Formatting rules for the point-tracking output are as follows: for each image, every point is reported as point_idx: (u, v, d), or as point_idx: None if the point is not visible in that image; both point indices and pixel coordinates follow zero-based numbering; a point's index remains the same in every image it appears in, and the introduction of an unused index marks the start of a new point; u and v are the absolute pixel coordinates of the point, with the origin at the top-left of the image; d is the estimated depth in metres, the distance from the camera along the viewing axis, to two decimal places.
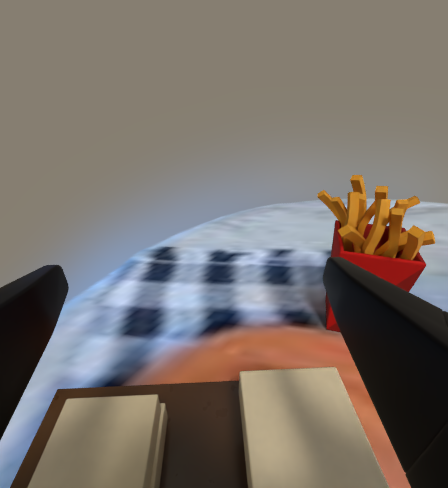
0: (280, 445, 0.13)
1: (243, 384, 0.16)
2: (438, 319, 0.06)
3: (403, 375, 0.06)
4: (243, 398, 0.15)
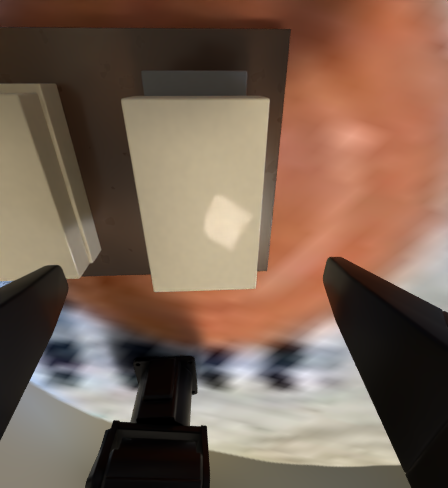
0: (170, 195, 0.13)
1: (127, 122, 0.11)
2: (438, 319, 0.06)
3: (403, 375, 0.06)
4: (129, 142, 0.12)
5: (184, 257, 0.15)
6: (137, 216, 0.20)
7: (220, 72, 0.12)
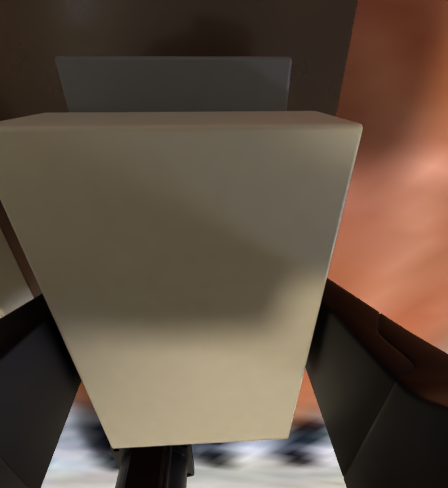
0: (126, 321, 0.06)
1: (0, 185, 0.04)
2: (371, 322, 0.06)
3: (339, 378, 0.06)
4: (14, 228, 0.05)
5: (162, 407, 0.08)
6: None
7: (233, 60, 0.06)
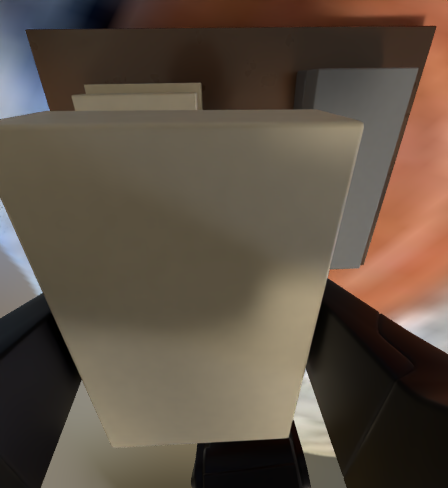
0: (126, 320, 0.06)
1: (0, 183, 0.04)
2: (371, 322, 0.06)
3: (339, 378, 0.06)
4: (14, 226, 0.05)
5: (162, 407, 0.08)
6: None
7: (393, 69, 0.13)
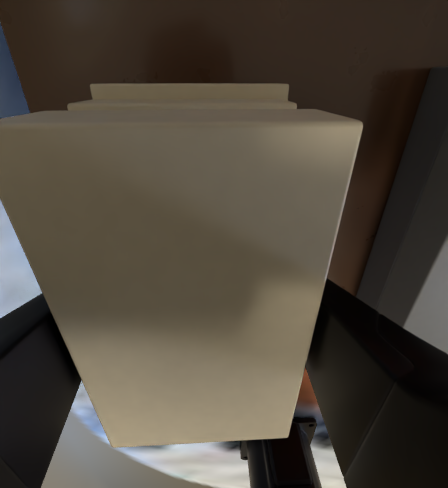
0: (126, 320, 0.06)
1: None
2: (371, 322, 0.06)
3: (339, 378, 0.06)
4: (14, 226, 0.05)
5: (162, 406, 0.08)
6: None
7: None
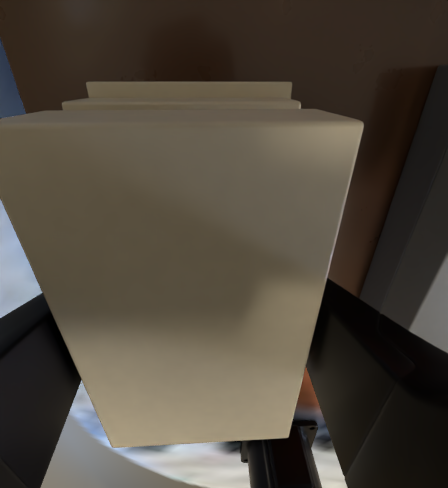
0: (126, 320, 0.06)
1: None
2: (372, 322, 0.06)
3: (340, 378, 0.06)
4: (14, 226, 0.05)
5: (162, 406, 0.08)
6: None
7: None
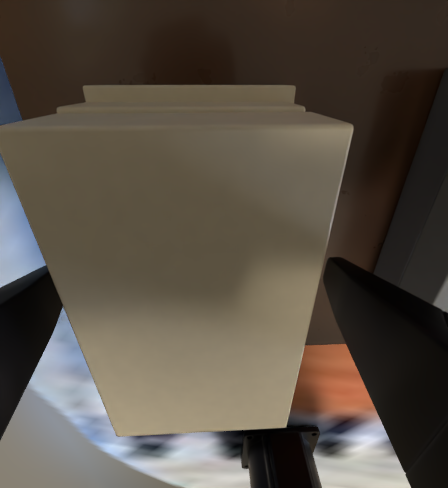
0: (132, 311, 0.06)
1: (17, 181, 0.05)
2: (438, 319, 0.06)
3: (403, 375, 0.06)
4: (30, 221, 0.05)
5: (165, 396, 0.08)
6: None
7: None
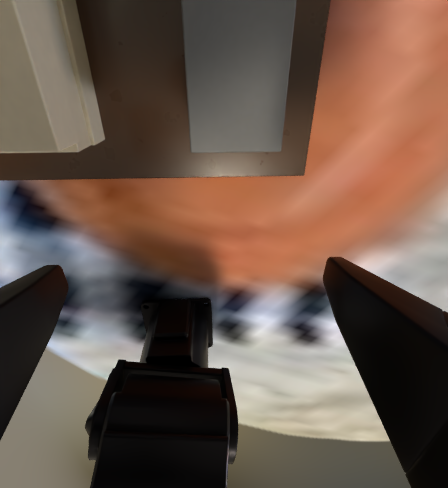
0: None
1: None
2: (438, 319, 0.06)
3: (403, 375, 0.06)
4: None
5: None
6: (150, 88, 0.16)
7: None
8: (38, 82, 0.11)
